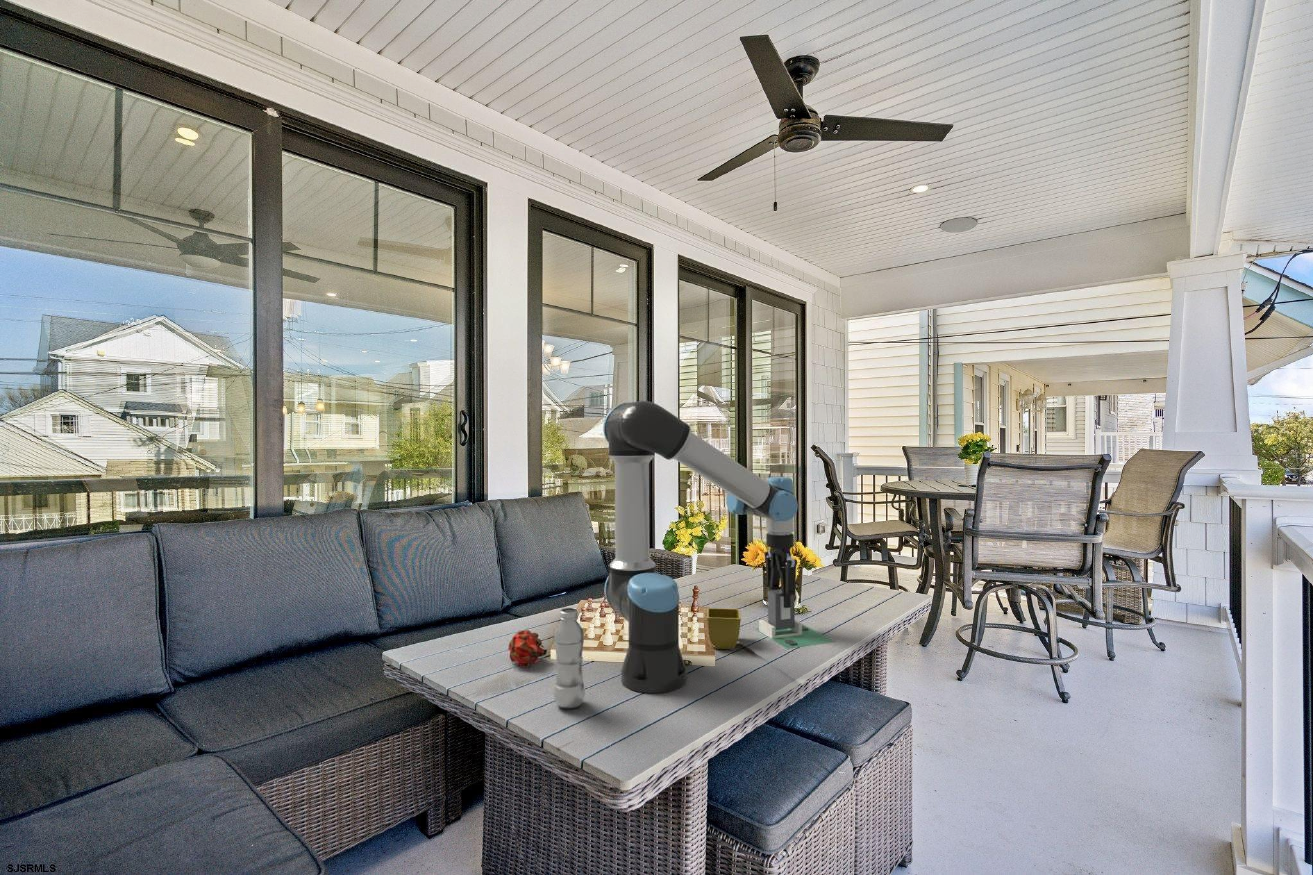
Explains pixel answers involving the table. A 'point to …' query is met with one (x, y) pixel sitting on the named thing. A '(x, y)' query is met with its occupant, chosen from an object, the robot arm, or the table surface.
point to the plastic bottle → (569, 660)
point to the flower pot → (723, 627)
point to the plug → (775, 611)
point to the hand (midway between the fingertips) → (780, 616)
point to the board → (793, 635)
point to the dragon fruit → (526, 648)
